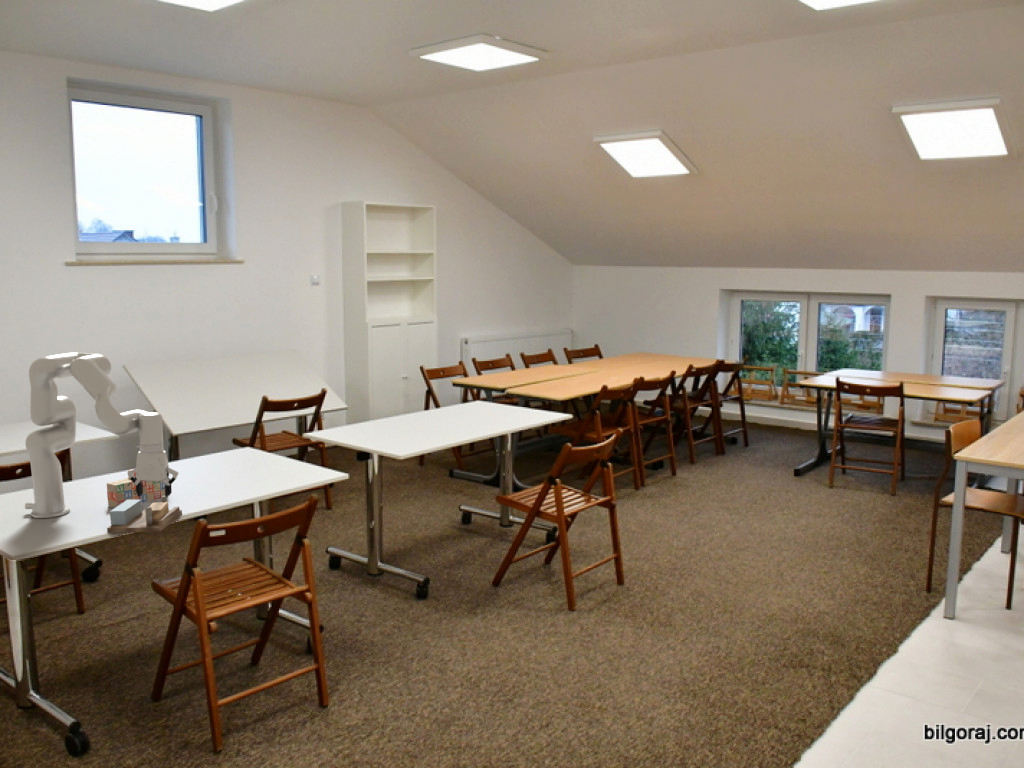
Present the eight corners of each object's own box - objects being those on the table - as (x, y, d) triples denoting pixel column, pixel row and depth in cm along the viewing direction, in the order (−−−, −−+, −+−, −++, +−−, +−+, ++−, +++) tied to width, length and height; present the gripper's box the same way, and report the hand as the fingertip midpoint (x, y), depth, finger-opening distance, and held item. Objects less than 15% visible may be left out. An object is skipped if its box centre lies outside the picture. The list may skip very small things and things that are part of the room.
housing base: (107, 532, 292) (105, 511, 291) (132, 514, 312) (130, 494, 311) (160, 531, 293) (158, 510, 292) (182, 513, 312) (180, 493, 311)
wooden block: (146, 523, 297) (145, 510, 296) (154, 514, 307) (153, 502, 306) (161, 522, 298) (160, 510, 297) (168, 514, 307) (168, 501, 307)
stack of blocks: (117, 509, 319) (115, 477, 318) (108, 507, 323) (105, 475, 321) (168, 495, 337) (166, 465, 335) (158, 493, 340) (156, 463, 339)
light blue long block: (111, 524, 295) (109, 511, 294) (128, 512, 309) (127, 499, 308) (125, 524, 295) (124, 511, 295) (142, 512, 309) (141, 499, 308)
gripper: (122, 450, 295) (124, 498, 297) (172, 450, 295) (174, 499, 298) (131, 445, 302) (133, 492, 305) (180, 445, 302) (182, 492, 305)
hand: (154, 495), depth 301 cm, fingers open, 9 cm apart
